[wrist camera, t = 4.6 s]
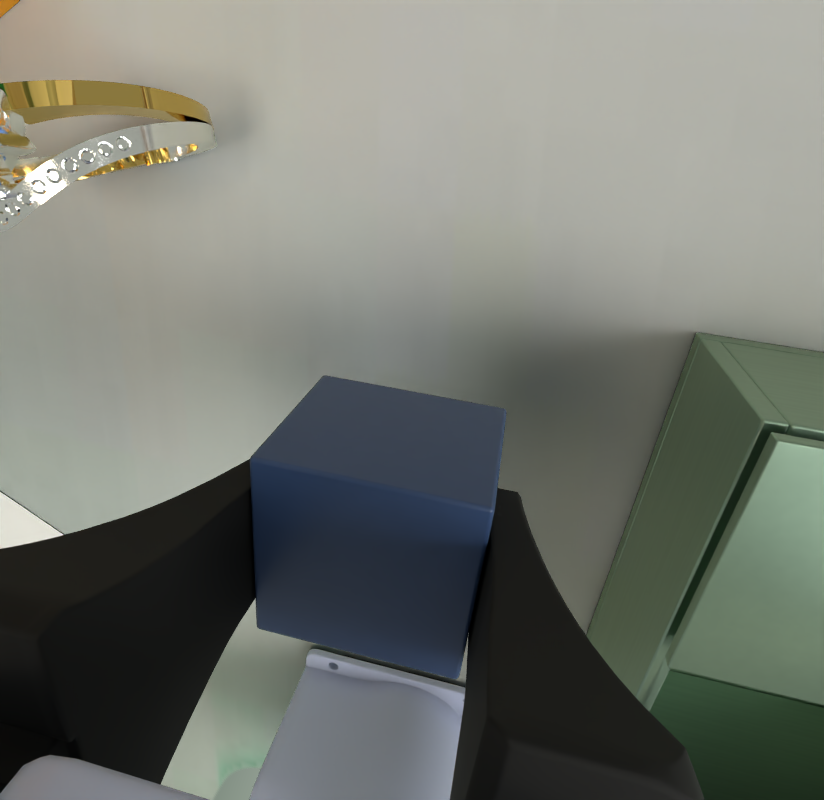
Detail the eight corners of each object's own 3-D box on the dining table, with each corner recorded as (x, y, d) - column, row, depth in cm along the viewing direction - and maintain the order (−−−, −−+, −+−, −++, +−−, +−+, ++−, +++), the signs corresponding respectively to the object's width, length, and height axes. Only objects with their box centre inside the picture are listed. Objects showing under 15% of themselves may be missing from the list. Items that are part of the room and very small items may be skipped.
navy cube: (319, 518, 16) (255, 629, 12) (323, 373, 14) (247, 457, 10) (477, 553, 15) (458, 682, 12) (507, 407, 13) (495, 509, 9)
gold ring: (102, 211, 20) (-130, 255, 13) (66, 115, 19) (-212, 107, 12) (272, 182, 18) (107, 214, 11) (245, 74, 17) (40, 34, 10)
